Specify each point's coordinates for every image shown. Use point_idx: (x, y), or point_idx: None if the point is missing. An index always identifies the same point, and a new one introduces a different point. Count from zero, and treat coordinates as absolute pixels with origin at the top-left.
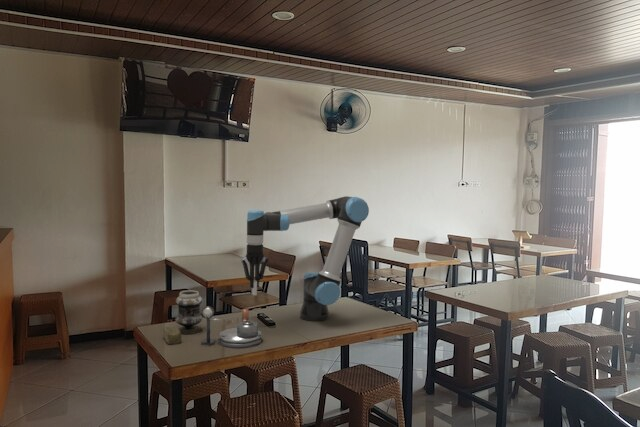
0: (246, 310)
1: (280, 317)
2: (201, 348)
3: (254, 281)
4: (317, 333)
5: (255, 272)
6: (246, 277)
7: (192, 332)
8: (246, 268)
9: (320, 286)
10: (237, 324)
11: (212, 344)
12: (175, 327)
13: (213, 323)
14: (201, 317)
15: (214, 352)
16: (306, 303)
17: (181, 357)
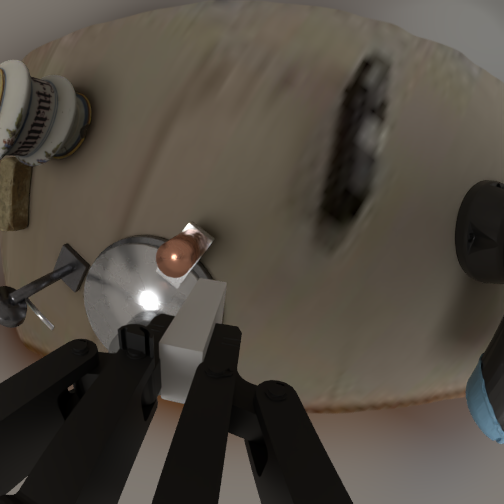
0: (172, 277)
1: (416, 154)
2: (56, 293)
3: (167, 399)
4: (386, 371)
5: (172, 457)
6: (65, 360)
7: (60, 157)
8: (2, 470)
9: (490, 432)
10: (110, 348)
11: (77, 290)
12: (9, 172)
13: (154, 75)
14: (58, 139)
15: (76, 335)
16: (499, 246)
17: (27, 313)
